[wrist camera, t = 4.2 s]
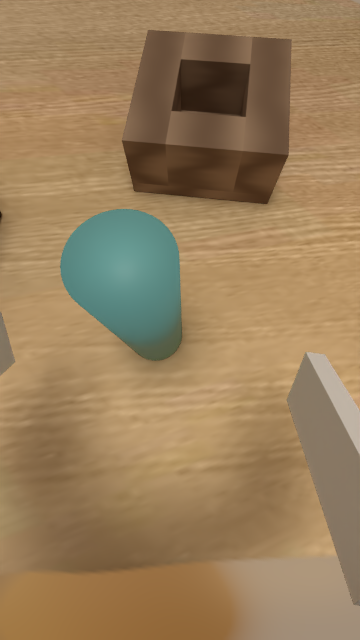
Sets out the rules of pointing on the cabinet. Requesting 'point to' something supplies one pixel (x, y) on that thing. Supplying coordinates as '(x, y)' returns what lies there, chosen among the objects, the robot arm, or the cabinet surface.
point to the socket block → (209, 116)
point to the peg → (127, 279)
